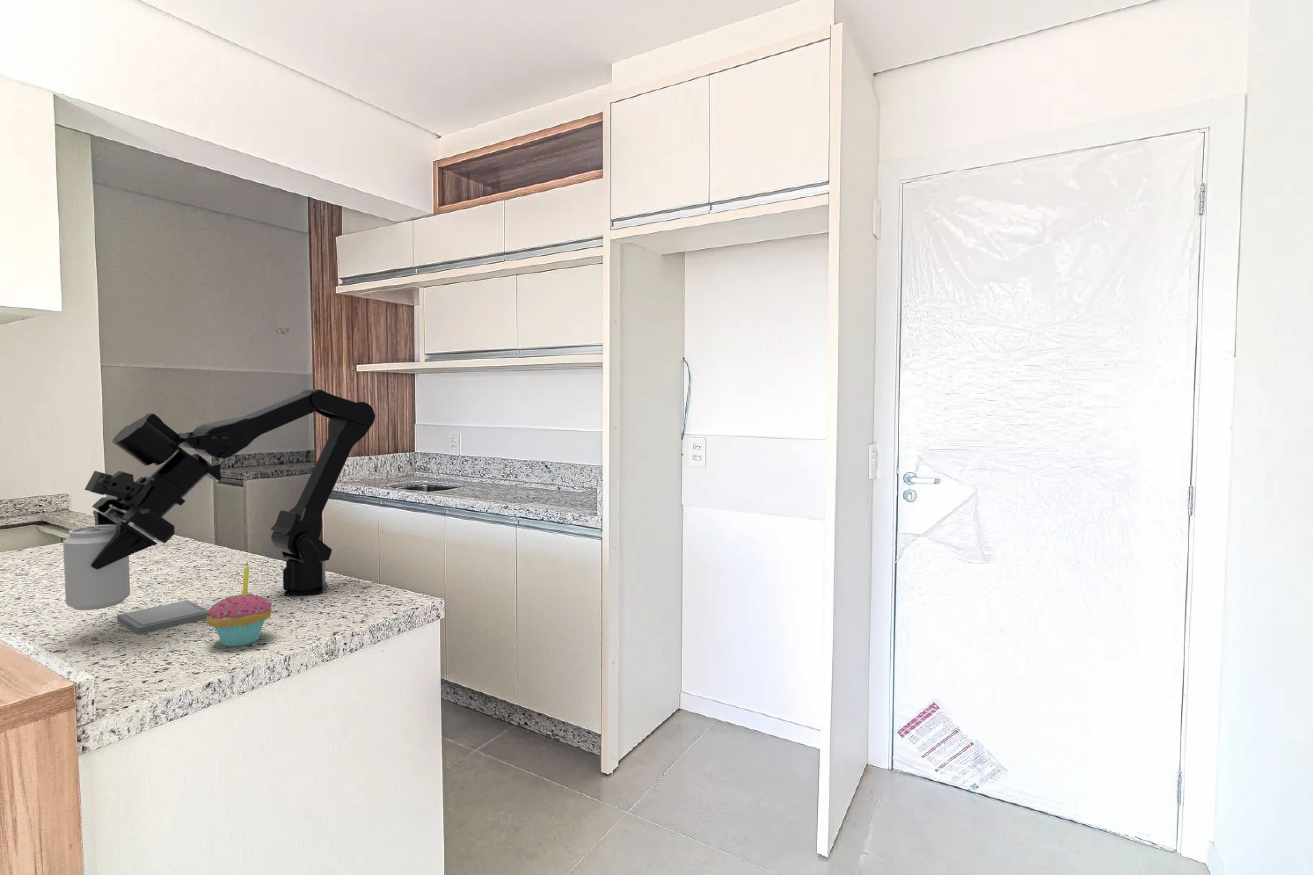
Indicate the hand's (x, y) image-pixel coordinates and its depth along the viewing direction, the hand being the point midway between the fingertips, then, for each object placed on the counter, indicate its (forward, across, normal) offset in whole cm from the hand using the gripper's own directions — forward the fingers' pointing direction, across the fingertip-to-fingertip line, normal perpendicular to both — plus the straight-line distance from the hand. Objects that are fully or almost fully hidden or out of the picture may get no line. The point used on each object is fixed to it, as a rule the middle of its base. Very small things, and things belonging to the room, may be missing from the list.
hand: (85, 563), depth 97 cm
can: (+4, 0, +6) cm, 7 cm away
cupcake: (-1, +18, +18) cm, 26 cm away
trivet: (+1, -2, +16) cm, 16 cm away
